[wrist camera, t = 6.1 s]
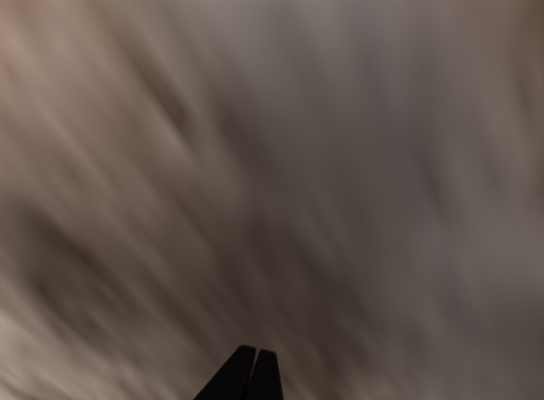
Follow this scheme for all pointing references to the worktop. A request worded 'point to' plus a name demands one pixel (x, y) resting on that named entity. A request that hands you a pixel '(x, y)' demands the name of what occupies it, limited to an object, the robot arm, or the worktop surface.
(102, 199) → the worktop surface
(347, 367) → the worktop surface
